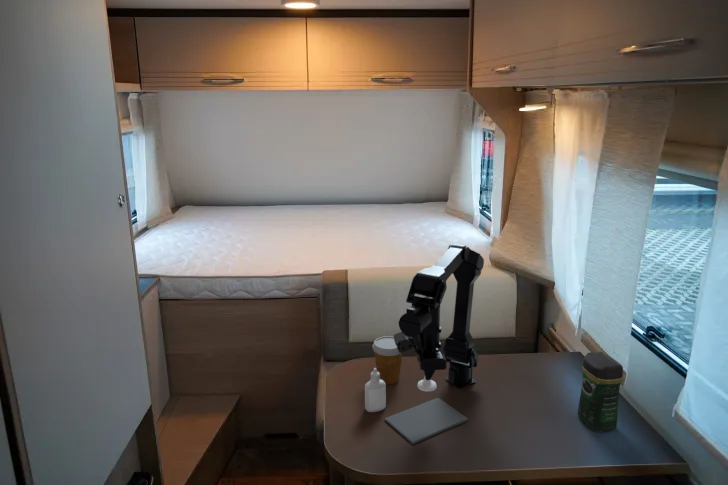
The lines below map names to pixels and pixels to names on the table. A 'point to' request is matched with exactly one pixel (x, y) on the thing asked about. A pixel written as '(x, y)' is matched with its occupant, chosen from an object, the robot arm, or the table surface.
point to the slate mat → (425, 420)
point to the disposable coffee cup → (387, 359)
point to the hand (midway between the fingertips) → (427, 377)
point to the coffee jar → (600, 392)
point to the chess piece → (426, 385)
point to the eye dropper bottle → (375, 393)
